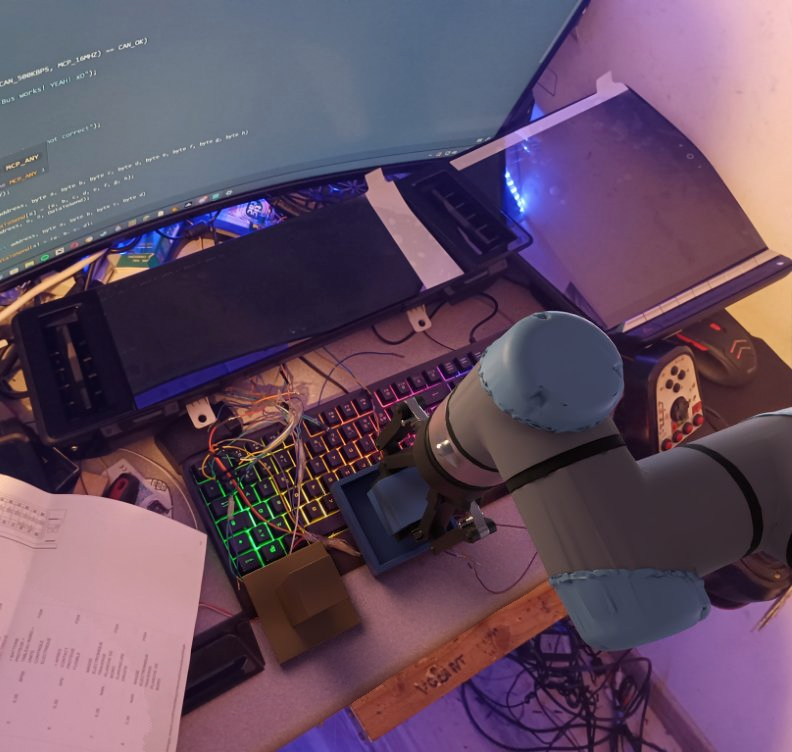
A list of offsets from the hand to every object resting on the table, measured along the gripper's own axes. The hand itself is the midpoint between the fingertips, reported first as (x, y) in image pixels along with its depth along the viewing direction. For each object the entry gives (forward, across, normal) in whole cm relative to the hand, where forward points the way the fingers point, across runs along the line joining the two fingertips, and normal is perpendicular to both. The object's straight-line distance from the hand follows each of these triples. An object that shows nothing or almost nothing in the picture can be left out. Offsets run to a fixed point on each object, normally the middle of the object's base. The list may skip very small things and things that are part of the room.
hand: (394, 509), depth 76 cm
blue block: (-2, 0, 0) cm, 2 cm away
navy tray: (+1, 0, 0) cm, 1 cm away
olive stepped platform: (+1, +4, -13) cm, 14 cm away
